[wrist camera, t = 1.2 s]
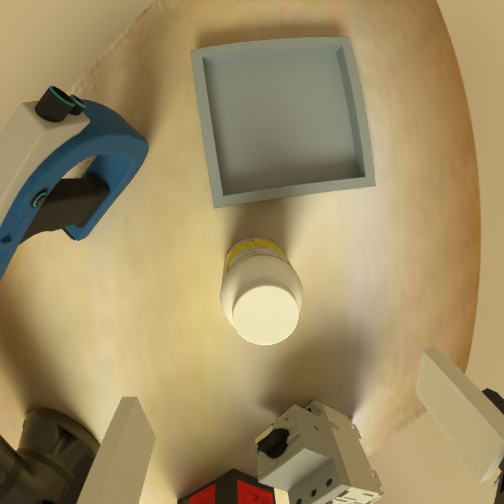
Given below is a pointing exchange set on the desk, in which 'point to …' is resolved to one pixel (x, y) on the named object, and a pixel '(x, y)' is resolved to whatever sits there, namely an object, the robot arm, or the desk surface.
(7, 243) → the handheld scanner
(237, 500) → the cleaning product box
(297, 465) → the circuit breaker
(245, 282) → the supplement bottle
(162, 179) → the desk surface
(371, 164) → the tray
